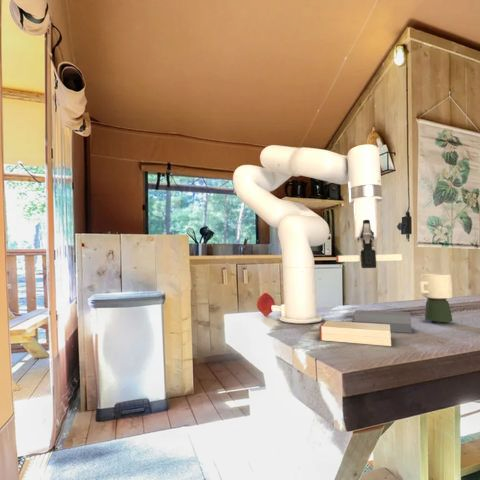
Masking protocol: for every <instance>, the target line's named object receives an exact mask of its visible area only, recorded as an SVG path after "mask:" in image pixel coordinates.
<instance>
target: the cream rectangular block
mask: <svg viewBox="0 0 480 480" xmlns="http://www.w3.org/2000/svg"><path fill="white" fill-rule="evenodd" d="M318 332H319V333H318V335H319V341H324V342H337V343H349V344H361V345H371V346H383V347H384V346H385V347H392V335H391V334H392V333H391V332H390V324H373V323H356V322H352V321H337V320H336V321H335V320H324V321H323V322H322V323H321V324H320V325H319V326H318Z"/></svg>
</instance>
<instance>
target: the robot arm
mask: <svg viewBox="0 0 480 480" xmlns="http://www.w3.org/2000/svg"><path fill="white" fill-rule="evenodd" d="M380 155H381V154H380V150H379V148H378V146H377V145H375V144H372V143H371V144H369V143H368V144H365V143H363V144H359V145H356V146H354V147H352V148H351V149H349V151H348V152H347V155H345V154H340V153H337V152H334V151H331V150H327V149H321V148H316V147H315V148H313V147H294V146H287V145H286V146H285V145H277V144H271V145H268V146H265V147H264V148H263V149H262V150H261V152H260V155H259V161H260V164H261V165H262V166H259V165H254V164H242V165H240V166H238V167H237V168H236V169H235V170H234V171H233V175H232V184H233V189H234V192H235V194H236V196H237V197H238V198H239V200H240V201H241V202H242V203H243V204H244V205H245V206H247V207H248V208H249V209H250V210H252V212H254V213H255V214H256V215H257V216H258V217H259V218H260V219H262V221H264V222H265V223H266V224H267V225H268V226H270V227H272V228H276V229H277V237H278V240H279V244H280V249H281V261H282V263H281V264H282V285H283V287H282V288H283V303H281V305H277V304H275V305H272V307H271V310H272V313H280V314H279V316H278V319H279V321H281V322H284V323H289V324H314V323H315V324H316V323H320V322H322V321H323V315H321V314H319V313H318V311H317V291H316V289H317V288H316V287H317V286H316V266H315V257H314V253H313V251H312V248H311V247H318V246H322V245H324V244H325V243H326V242H328V239H329V237H330V234H331V232H330V231H331V230H330V227H329V223H327V221H326V220H325V219H324V218H323V217H321V216H320V215H319V214H317V213H316V212H314V211H313V210H312V209H310V208H308V207H307V206H306V205H304V204H302V203H300V202H297V201H292V200H286V199H283V198H282V199H281V198H278V196H277V197H276V196H275V195H274V194H272V193H271V192H274V191H275V190H276V189H278V188H279V187H280V186H282V185H283V184H285V182H286V181H288V180H289V179H290V178H291V177H300V176H302V177H307V178H310V179H311V178H312V179H315V180H319V181H324V182H329V183H332V184H336V185H347V184H348V200H349V204H351V205H353V225H354V227H353V228H354V240H355V241H356V242H357V243H360V245H361V248H360V249H361V250H360V255H361V261H360V264H361V268H362V269H376V268H377V261H376V255H377V253H376V252H377V251H376V250H375V242H376V241H377V238H378V228H379V227H378V226H379V225H378V224H379V223H378V222H379V221H378V219H379V218H378V203H379V202H382V201H383V191H382V175H381V174H382V172H381V159H380V158H381V156H380Z"/></svg>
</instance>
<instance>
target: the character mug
mask: <svg viewBox="0 0 480 480" xmlns="http://www.w3.org/2000/svg"><path fill="white" fill-rule="evenodd" d="M419 278H420V281H419V292H420V294H421V296H422V297H423V298H426V302H425V309H424V320H425V321H432V323H434V324H435V323H437V322H440V323H452V322H453V316H452V311H451V306H450V304H449V301H448V300H449V299H452V298H453V282H452V274H449V273H421V274H420V277H419Z"/></svg>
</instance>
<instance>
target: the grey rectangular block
mask: <svg viewBox="0 0 480 480" xmlns="http://www.w3.org/2000/svg"><path fill="white" fill-rule="evenodd" d="M351 322H356V323H373V324H390V333H391V332H392V333H404V334H405V333H406V334H412V332H413V331H412V318H411V313H410V312H409V311H392V310H391V311H390V310H389V311H388V310H366V309H355V311H354V313H353V318H352V320H351Z"/></svg>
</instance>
